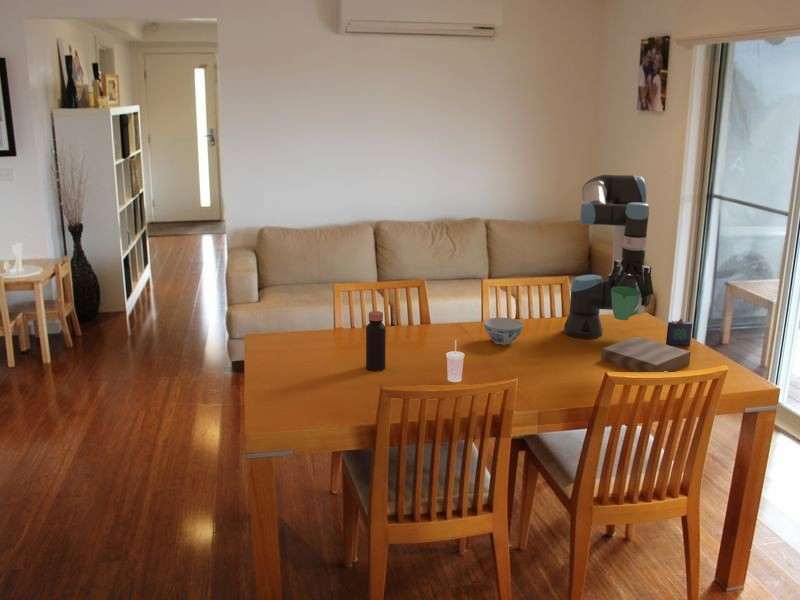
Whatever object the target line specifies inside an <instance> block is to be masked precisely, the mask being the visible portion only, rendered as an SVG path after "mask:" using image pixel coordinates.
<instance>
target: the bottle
mask: <svg viewBox="0 0 800 600" xmlns="http://www.w3.org/2000/svg"><path fill="white" fill-rule="evenodd" d="M368 321H369V323H368V324H367V325H366V326H365V368H366V369H367V370H368V369H369V370H368V371H370V370H374V371H373V372H378V371H377V370H381V371H383V369H384V370H385V369H386V343H387V342H386V339H387V338H386V337H387V335H386V334H387V333H386V330H387V329H386V326H385V324H384V323H383V321H384V312H383V311H378V310H371V311H369V312H368Z"/></svg>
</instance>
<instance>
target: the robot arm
mask: <svg viewBox="0 0 800 600" xmlns="http://www.w3.org/2000/svg"><path fill="white" fill-rule="evenodd" d="M581 198H582V200H583V203H582V204H581V205H580V215H579V217H580V218H579V222H580V223H581V224H582V225H589V226H594V225H595V226H614V229H613V243H612V261H611V262H612V263H611V272H610V273H609V274H608V275H607V279H603V277H602V276H601V275H599V274H598V275H597V274H583V275H578V276H576V277H574V278H573V279H572V280H571V287H570V301H569V313H568V316H567V317H566V320H565V323H564V325H563V333H564V334H565V335H567V336H570V337H573V338H577V339H596V338H600V337H601V336H602V335H603V327H602V322H601V317H600V310H608V311H609V310H611V311H613V308H612V296H611V289H612V288H613V287H617V286H624V287H630V288H634V289H636V290H638V291H639V292H640V293H641V296H639V300H638V302H637V304H636V307H635V309H634V310H636V309H638V314H636V315H638V316H641V315H644V314H645V309H646V308H645V305H647V297H648V296H651V297H652V296H654V289H653V281H652V269H653V268H652V266H647V265H645V264H644V261H645V257H646V250H645V249H646V248H647V247H646V246H647V245H646V244H647V233H648V226H649V225H648V224H649V217H650V205H649V204H648V203H647V186H646V182H645V179H644V177H643V176H641V175H633V174H632V175H630V174H629V175H627V174H626V175H623V174H621V175H620V174H619V175H617V174H601V175H597V176H594V177H593V178H591V179H588V180H587V182H585V184H584V185H583V187H582V189H581Z"/></svg>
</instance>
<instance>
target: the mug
mask: <svg viewBox="0 0 800 600" xmlns="http://www.w3.org/2000/svg"><path fill="white" fill-rule="evenodd" d="M611 296H612V308H613V310H612V312H613V313H612V314H613V318H614V319H616V320H619V321H627V320H629V319H630V317H633V316H635V315H637V314H638V308H636V309H635V307H636V304H637V302H638V300H639V296H641V293H640V292H639V291H638V290H636V289H634V288H630V287H624V286H617V287H613V288H612V289H611ZM651 297H652V295H651V296H648V297H647V305H645V308H644V309H647V307H648V306H649V304H650V301H651ZM634 309H635V310H634Z"/></svg>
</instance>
